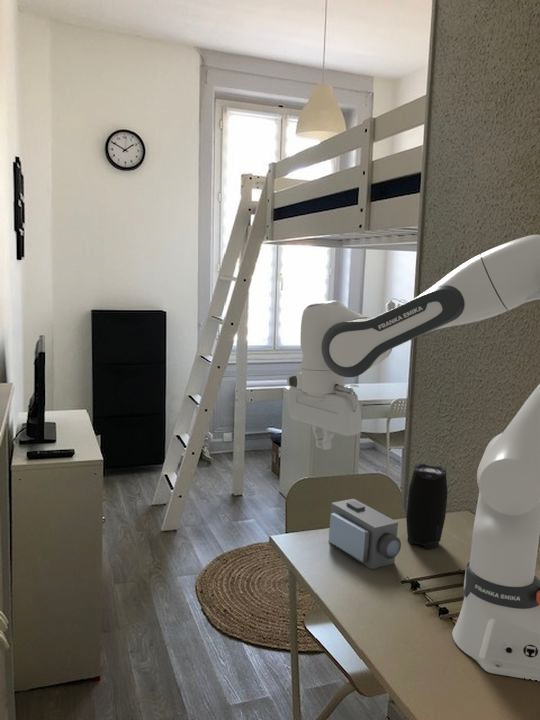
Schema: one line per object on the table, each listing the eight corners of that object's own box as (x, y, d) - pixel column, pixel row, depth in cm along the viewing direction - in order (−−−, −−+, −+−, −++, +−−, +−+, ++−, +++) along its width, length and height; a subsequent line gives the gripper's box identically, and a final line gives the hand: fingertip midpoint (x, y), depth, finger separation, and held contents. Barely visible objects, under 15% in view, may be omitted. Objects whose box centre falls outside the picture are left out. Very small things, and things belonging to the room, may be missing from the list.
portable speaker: (399, 535, 157) (406, 462, 155) (433, 535, 159) (441, 462, 156) (411, 550, 149) (419, 473, 146) (447, 550, 150) (455, 473, 148)
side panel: (368, 562, 139) (371, 532, 138) (364, 563, 138) (367, 533, 137) (332, 540, 149) (334, 512, 148) (328, 541, 148) (330, 513, 147)
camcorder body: (402, 568, 140) (406, 523, 138) (379, 574, 136) (383, 529, 134) (350, 535, 155) (353, 495, 154) (328, 541, 152) (331, 499, 150)
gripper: (369, 386, 116) (369, 457, 118) (306, 373, 133) (307, 435, 135) (343, 390, 113) (344, 463, 114) (282, 376, 130) (283, 439, 132)
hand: (323, 447), depth 125 cm, fingers closed
